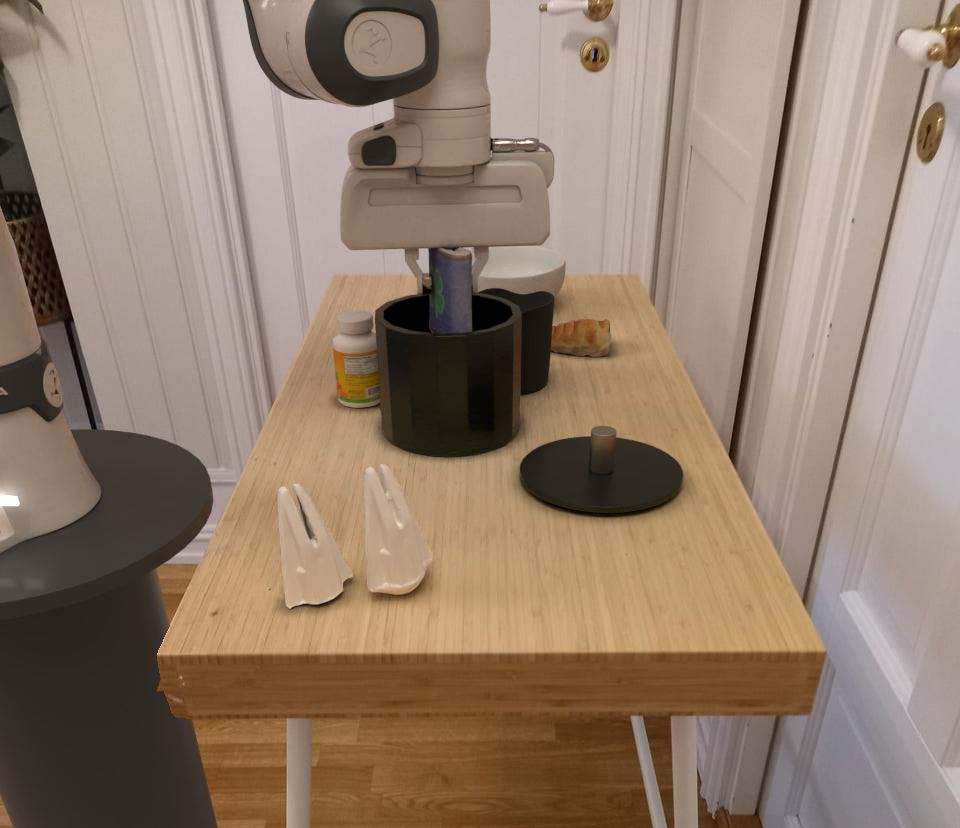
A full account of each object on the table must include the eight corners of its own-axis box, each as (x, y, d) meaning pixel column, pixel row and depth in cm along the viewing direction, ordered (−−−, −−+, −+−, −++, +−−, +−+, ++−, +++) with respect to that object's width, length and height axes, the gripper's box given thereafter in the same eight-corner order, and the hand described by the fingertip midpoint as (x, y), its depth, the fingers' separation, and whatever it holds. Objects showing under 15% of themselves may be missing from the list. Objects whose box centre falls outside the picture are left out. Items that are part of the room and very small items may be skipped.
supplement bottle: (341, 391, 114) (334, 308, 109) (387, 391, 114) (381, 308, 109) (334, 408, 110) (326, 323, 104) (381, 409, 110) (375, 323, 104)
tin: (382, 459, 99) (373, 338, 92) (383, 404, 111) (376, 293, 104) (525, 454, 100) (528, 333, 92) (511, 400, 112) (513, 289, 104)
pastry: (537, 356, 124) (538, 326, 122) (540, 339, 129) (541, 310, 127) (611, 358, 123) (613, 328, 121) (611, 341, 128) (613, 312, 126)
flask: (476, 347, 96) (475, 233, 90) (448, 350, 95) (445, 235, 89) (448, 320, 103) (446, 212, 97) (422, 323, 102) (418, 215, 96)
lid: (529, 522, 88) (530, 469, 85) (512, 449, 101) (512, 401, 98) (700, 515, 89) (707, 463, 86) (661, 443, 102) (666, 396, 99)
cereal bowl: (440, 296, 146) (439, 246, 141) (548, 289, 148) (549, 240, 144) (459, 331, 132) (458, 278, 128) (577, 323, 134) (579, 271, 130)
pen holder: (520, 363, 122) (521, 281, 116) (567, 385, 115) (571, 300, 109) (458, 379, 117) (456, 295, 112) (503, 403, 111) (503, 315, 105)
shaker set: (434, 574, 81) (429, 451, 74) (436, 601, 77) (431, 475, 71) (289, 581, 80) (271, 458, 73) (285, 609, 76) (266, 482, 70)
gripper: (550, 132, 92) (545, 281, 100) (334, 136, 91) (347, 286, 99) (559, 142, 87) (554, 299, 95) (331, 147, 86) (345, 305, 94)
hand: (447, 293), depth 97 cm, fingers closed on flask, 3 cm apart
